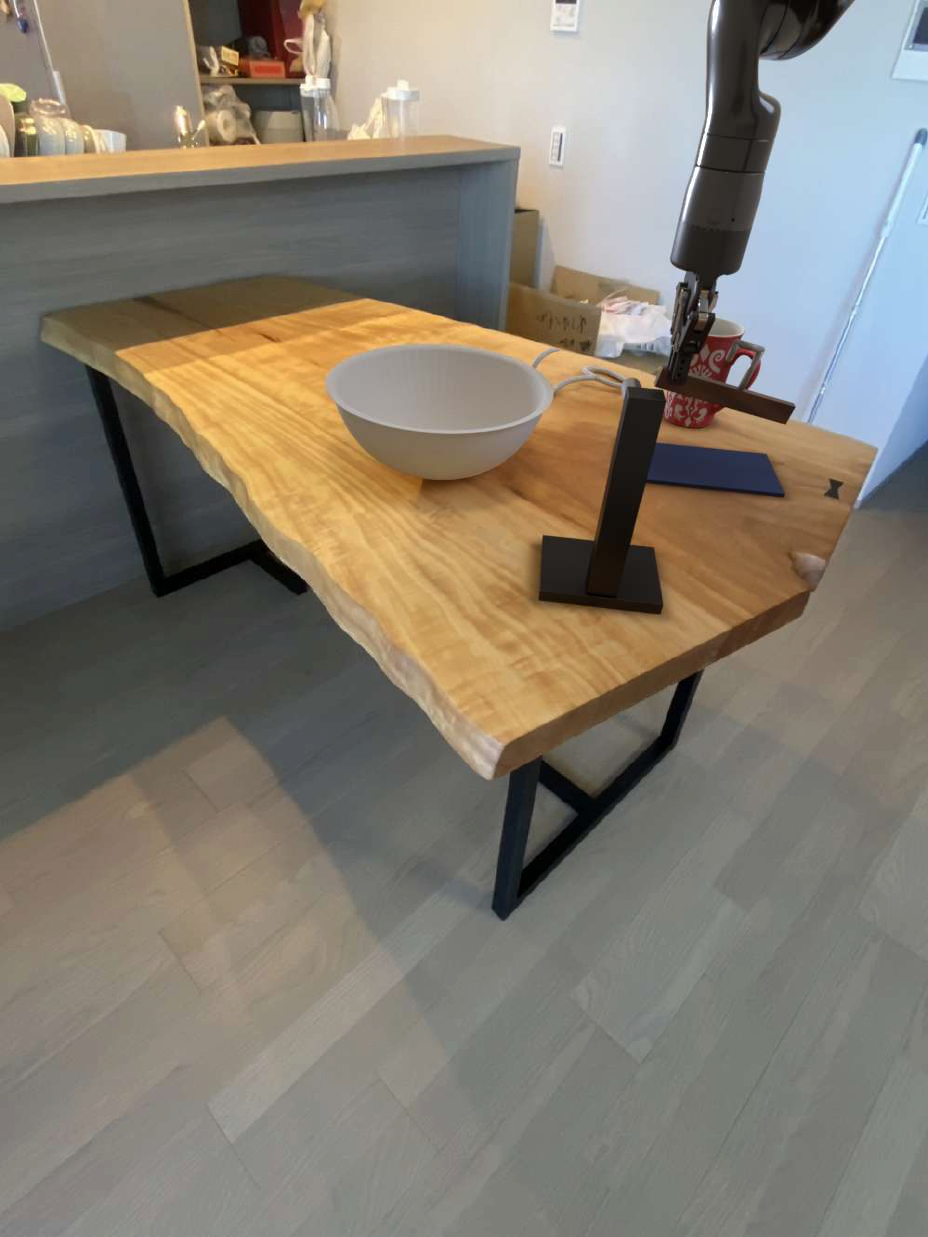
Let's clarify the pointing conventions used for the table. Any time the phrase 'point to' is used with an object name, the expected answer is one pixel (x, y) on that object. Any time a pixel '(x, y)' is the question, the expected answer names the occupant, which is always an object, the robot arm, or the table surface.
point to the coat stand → (613, 523)
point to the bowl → (438, 407)
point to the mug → (708, 375)
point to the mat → (714, 469)
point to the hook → (586, 371)
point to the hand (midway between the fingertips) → (674, 380)
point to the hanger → (732, 389)
